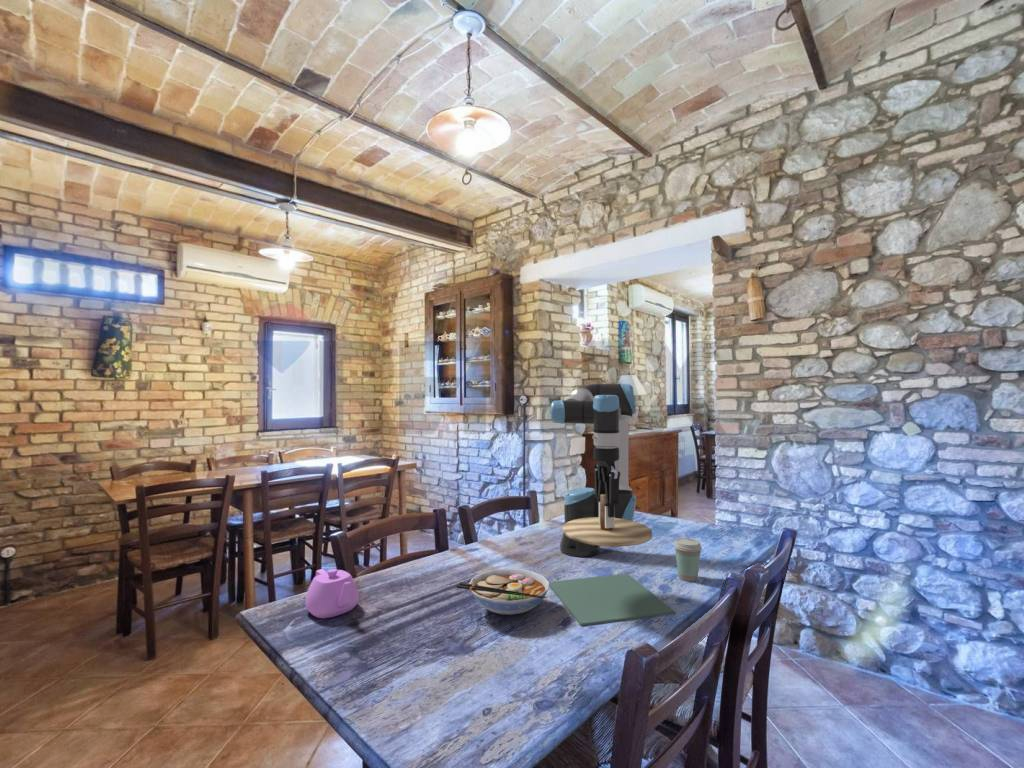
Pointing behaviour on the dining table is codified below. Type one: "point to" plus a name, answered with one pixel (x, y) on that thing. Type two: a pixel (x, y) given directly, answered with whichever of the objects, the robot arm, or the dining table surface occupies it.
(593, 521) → the lid
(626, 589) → the mat
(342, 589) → the teapot
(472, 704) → the dining table surface
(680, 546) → the coffee cup
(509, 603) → the ramen bowl
